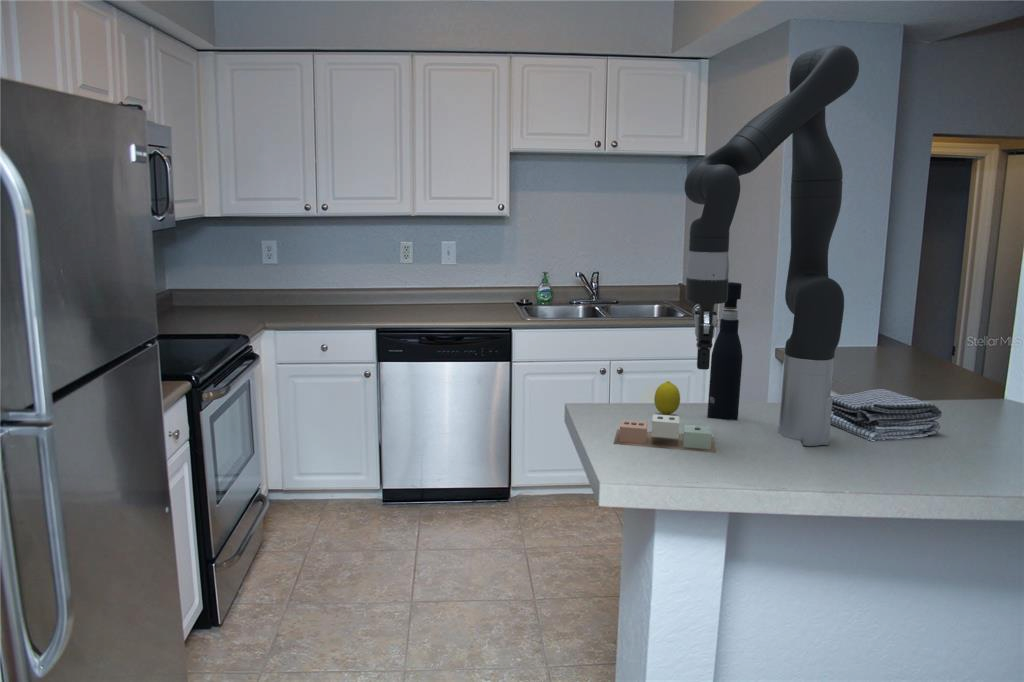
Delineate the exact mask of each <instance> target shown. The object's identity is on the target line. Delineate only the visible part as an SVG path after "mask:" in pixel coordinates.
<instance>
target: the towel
mask: <svg viewBox="0 0 1024 682" xmlns="http://www.w3.org/2000/svg"><path fill="white" fill-rule="evenodd" d="M830 396H831V397H832V399H833V401H832V412H831V422H830V425H831V424H833V425H832V426H834V425H835V426H834V427H836V426H838V427H837V428H839V427H840V428H839V429H841V428H842V430H844V429H845V430H844V431H846V430H847V431H846V432H848V431H850V432H849V433H851V432H852V433H851V434H853V433H854V434H853V435H855V434H857V435H856V436H858V435H859V436H862V437H865V438H866V439H865V438H864V439H865V440H867V439H869V440H883V439H897V438H906V437H914V436H924V435H932V436H934V434H935V435H936V434H937V433H938V432H939V431H940V429H941V426H940V423H939V422H938V421H937V420H939V419H940V418H941V417H942V411H941V409H940V408H939V407H938V406H937V405H935V404H934V403H932V402H930V401H923V400H920V399H918V398H915V397H911V396H907V395H904V394H901V393H898V392H896V391H893V390H889V389H884V388H880V389H879V388H877V389H875V388H874V389H869V390H864V391H860V392H856V393H846V394H838V395H836V394H834V395H830ZM859 436H858V437H859ZM862 437H861V438H862ZM869 440H868V441H869ZM897 440H898V439H897Z"/></svg>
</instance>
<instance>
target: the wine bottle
mask: <svg viewBox="0 0 1024 682" xmlns="http://www.w3.org/2000/svg"><path fill="white" fill-rule="evenodd" d="M742 286H743V285H742V283H741V282H735V281H732V282H731V281H730V282H729V281H728V298H727V301H726V302H725V303H724V306H723V308H724V309H723V310H722V311H721V317H722V318H720V319H719V320H720V322H719V332H718V334H717V336H716V339H715V341H714V345H713V346H712V351H711V354H710V358H711V359H710V371H709V372H710V374H709V385H708V387H709V389H708V402H707V403H708V404H707V416H706V417H707V419H713V420H714V419H715V420H726V421H727V420H728V421H738V419H739V408H740V406H739V405H740V397H741V395H740V393H741V383H742V369H743V368H742V367H743V349H742V344H741V340H740V336H739V323H740V321H739V319H738V318H739V317H738V315H739V312H738V310H737V308H738V300H741V298H742Z"/></svg>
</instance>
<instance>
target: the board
mask: <svg viewBox="0 0 1024 682" xmlns="http://www.w3.org/2000/svg"><path fill="white" fill-rule="evenodd" d="M683 434H684V433H683ZM683 434H681V433H679V436H678V439H677V438H664V437H652V436H651V435H652V431H647V438H646V444H639V443H627V442H619V436H620V428H619V429H618V428H617V429H616V433H615V437H614V439H613V444H612V445H618V446H620V445H621V446H631V447H632V446H633V447H645V448H656V449H669V450H680V451H681V450H682V451H691V452H704V453H717V447H716V442H715V441H716V440H715V436H711V449H699V448H686V447H683Z"/></svg>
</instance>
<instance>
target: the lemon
mask: <svg viewBox="0 0 1024 682" xmlns="http://www.w3.org/2000/svg"><path fill="white" fill-rule="evenodd" d="M653 402H654V406H655V408H656V409H657V411H658V412H659V413H661V414H662V415H669V416H671V414H673V413H675V412H676V411H678V409H679V406H680V403H681V394H680V390H679V388H678V387H677V385H675V384H674V383H672V382H671V381H669V380H667V381H665V382H662V383H661V384H660V385H659V386H658V387H657V388H656V390H655V393H654V399H653Z"/></svg>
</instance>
